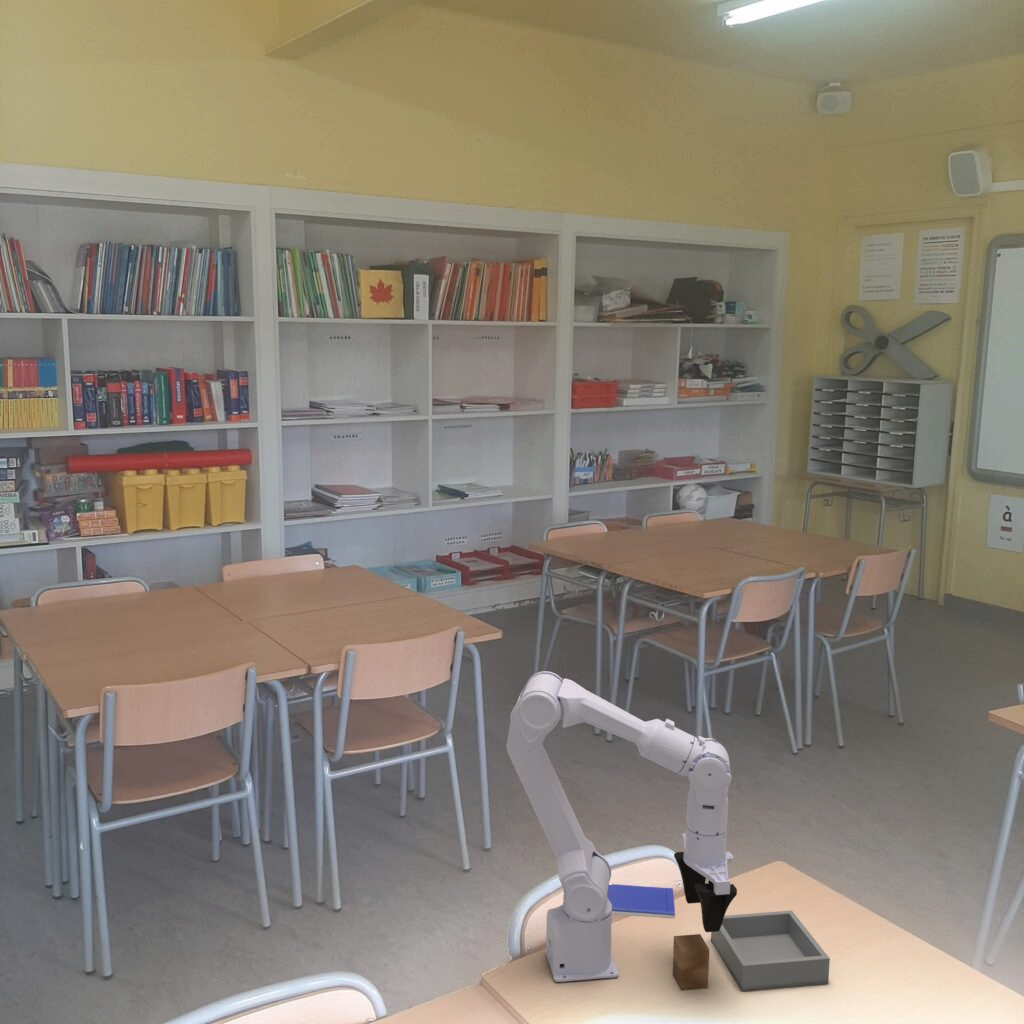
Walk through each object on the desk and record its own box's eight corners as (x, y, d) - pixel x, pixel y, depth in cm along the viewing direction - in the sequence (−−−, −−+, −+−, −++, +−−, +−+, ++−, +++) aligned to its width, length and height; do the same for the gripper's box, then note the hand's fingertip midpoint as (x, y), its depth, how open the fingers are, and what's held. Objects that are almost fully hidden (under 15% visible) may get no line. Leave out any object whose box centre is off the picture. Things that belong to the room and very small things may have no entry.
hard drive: (597, 907, 164) (675, 912, 163) (599, 881, 172) (672, 886, 171) (597, 916, 165) (674, 921, 163) (598, 890, 173) (672, 895, 171)
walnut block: (681, 990, 144) (682, 951, 144) (672, 974, 148) (673, 936, 147) (707, 988, 145) (709, 949, 144) (698, 971, 149) (700, 933, 148)
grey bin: (742, 991, 144) (743, 965, 144) (710, 940, 157) (711, 916, 156) (828, 984, 146) (829, 958, 146) (790, 934, 159) (791, 910, 158)
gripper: (753, 849, 138) (748, 941, 140) (715, 803, 152) (711, 888, 154) (703, 852, 137) (699, 945, 139) (670, 806, 151) (666, 891, 153)
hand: (702, 916), depth 146 cm, fingers open, 7 cm apart
